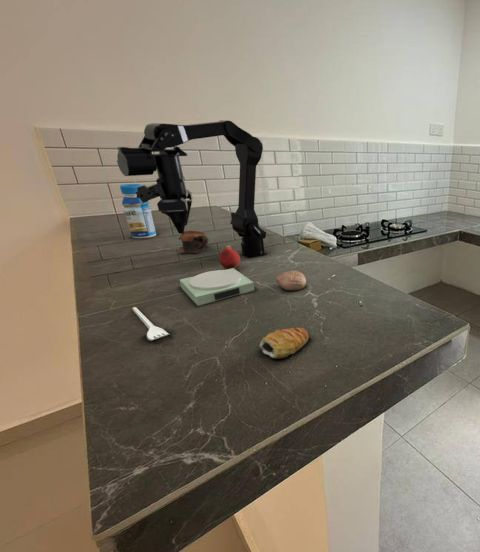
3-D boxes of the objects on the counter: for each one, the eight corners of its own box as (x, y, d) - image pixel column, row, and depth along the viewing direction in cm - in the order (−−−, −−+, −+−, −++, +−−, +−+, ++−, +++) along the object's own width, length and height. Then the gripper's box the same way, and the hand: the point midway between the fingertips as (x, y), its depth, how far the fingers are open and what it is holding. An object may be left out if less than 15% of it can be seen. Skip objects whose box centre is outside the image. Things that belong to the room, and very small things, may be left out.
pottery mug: (171, 254, 113) (172, 231, 115) (196, 258, 122) (196, 237, 124) (197, 250, 110) (198, 226, 111) (220, 254, 119) (221, 233, 120)
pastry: (295, 331, 71) (294, 316, 70) (316, 342, 68) (316, 327, 66) (257, 351, 64) (254, 334, 62) (278, 364, 60) (276, 347, 59)
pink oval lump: (269, 286, 92) (280, 288, 86) (274, 265, 93) (286, 266, 87) (293, 292, 97) (305, 294, 91) (298, 272, 98) (311, 273, 92)
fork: (143, 308, 77) (141, 301, 77) (173, 340, 66) (171, 332, 65) (126, 312, 75) (123, 305, 74) (154, 347, 63) (152, 339, 63)
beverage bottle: (161, 235, 131) (149, 185, 124) (136, 240, 125) (122, 187, 117) (151, 232, 135) (139, 183, 128) (127, 236, 129) (112, 184, 121)
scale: (234, 275, 98) (232, 265, 97) (255, 291, 89) (253, 280, 87) (181, 287, 88) (178, 276, 87) (198, 306, 79) (195, 294, 78)
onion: (233, 274, 99) (229, 249, 96) (216, 272, 100) (212, 247, 96) (245, 268, 104) (242, 244, 101) (229, 266, 105) (225, 242, 102)
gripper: (141, 170, 93) (155, 223, 99) (124, 178, 77) (142, 240, 83) (186, 170, 97) (197, 221, 103) (179, 177, 82) (192, 236, 88)
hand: (183, 229), depth 94 cm, fingers open, 9 cm apart
